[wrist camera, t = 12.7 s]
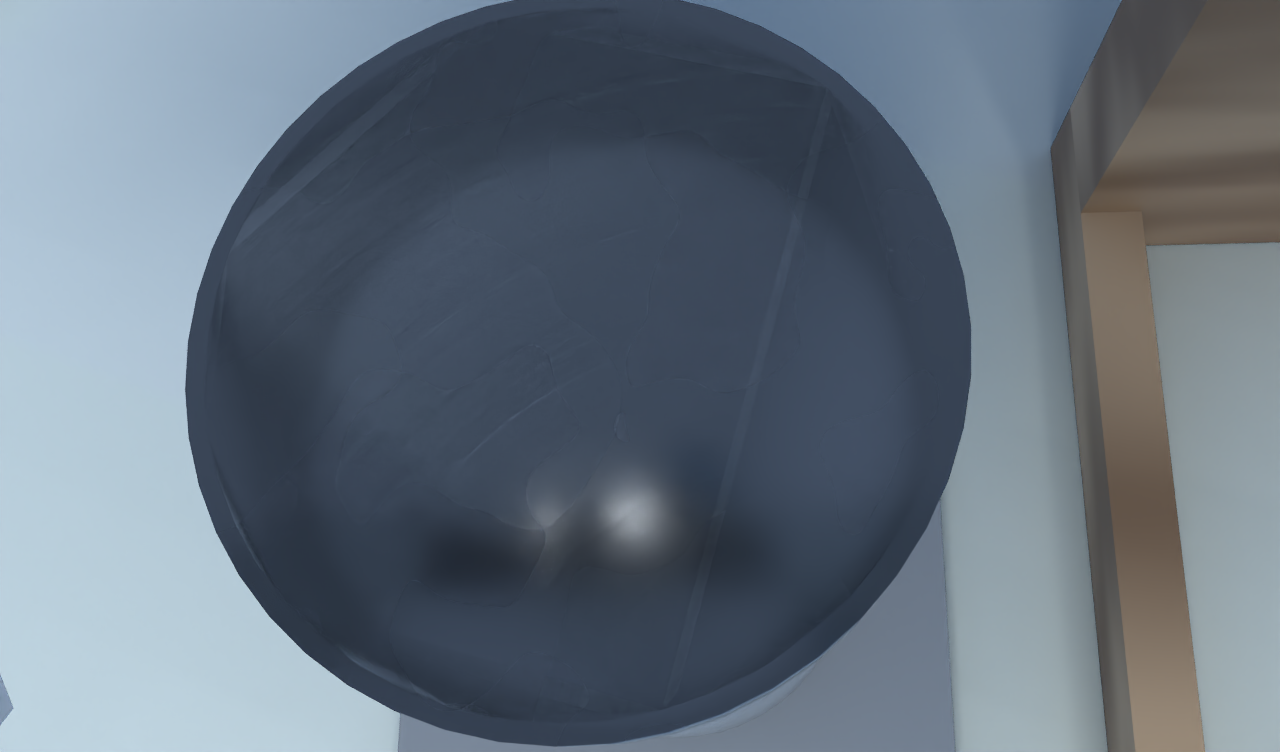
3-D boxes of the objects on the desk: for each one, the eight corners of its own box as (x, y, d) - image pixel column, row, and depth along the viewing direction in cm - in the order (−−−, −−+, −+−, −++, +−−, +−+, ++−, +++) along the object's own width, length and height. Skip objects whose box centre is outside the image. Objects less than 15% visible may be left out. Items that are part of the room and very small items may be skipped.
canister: (861, 749, 19) (1001, 752, 8) (496, 745, 20) (138, 741, 9) (848, 392, 21) (946, -26, 10) (511, 398, 22) (230, 9, 10)
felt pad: (964, 990, 19) (970, 998, 18) (393, 972, 20) (382, 980, 19) (917, 216, 23) (921, 202, 22) (441, 229, 23) (433, 216, 23)
